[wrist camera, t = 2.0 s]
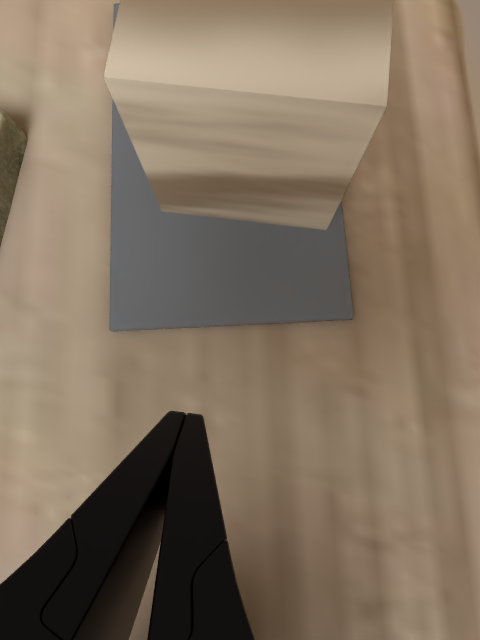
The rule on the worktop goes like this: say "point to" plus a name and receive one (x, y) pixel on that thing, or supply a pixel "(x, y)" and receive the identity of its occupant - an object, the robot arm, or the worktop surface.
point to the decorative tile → (9, 164)
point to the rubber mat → (214, 261)
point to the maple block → (251, 101)
